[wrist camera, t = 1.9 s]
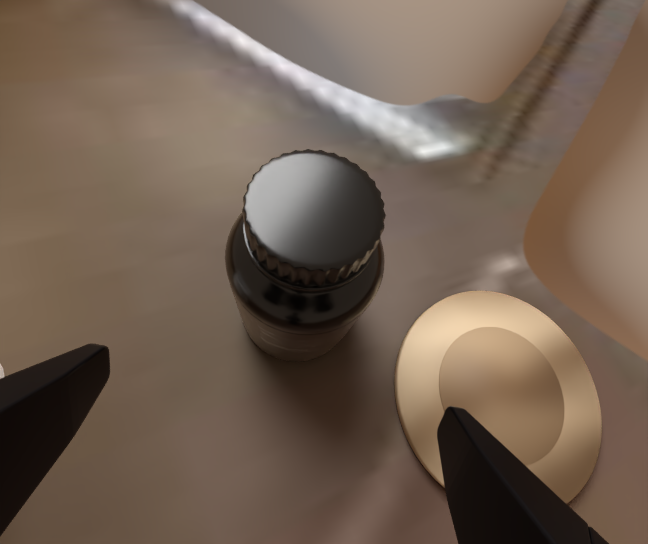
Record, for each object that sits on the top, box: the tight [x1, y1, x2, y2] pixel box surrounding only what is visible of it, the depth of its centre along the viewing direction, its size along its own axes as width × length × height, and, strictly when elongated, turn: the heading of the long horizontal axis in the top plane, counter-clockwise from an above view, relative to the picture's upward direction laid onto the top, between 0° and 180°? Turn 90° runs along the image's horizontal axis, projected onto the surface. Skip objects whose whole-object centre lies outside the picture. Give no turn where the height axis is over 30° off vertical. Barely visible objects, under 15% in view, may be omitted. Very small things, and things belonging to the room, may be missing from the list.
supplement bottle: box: [225, 149, 386, 362], centre depth 17 cm, size 7×7×12 cm
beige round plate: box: [394, 291, 602, 504], centre depth 22 cm, size 13×13×1 cm
